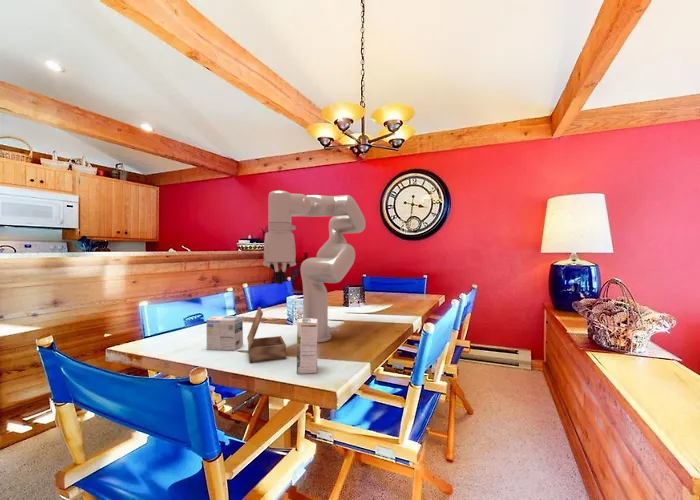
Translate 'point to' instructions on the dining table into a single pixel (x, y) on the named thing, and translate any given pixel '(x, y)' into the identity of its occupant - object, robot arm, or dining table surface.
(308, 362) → the syrup box
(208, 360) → the dining table surface
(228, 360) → the dining table surface
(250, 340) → the lid
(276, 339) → the box
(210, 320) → the light bulb box
